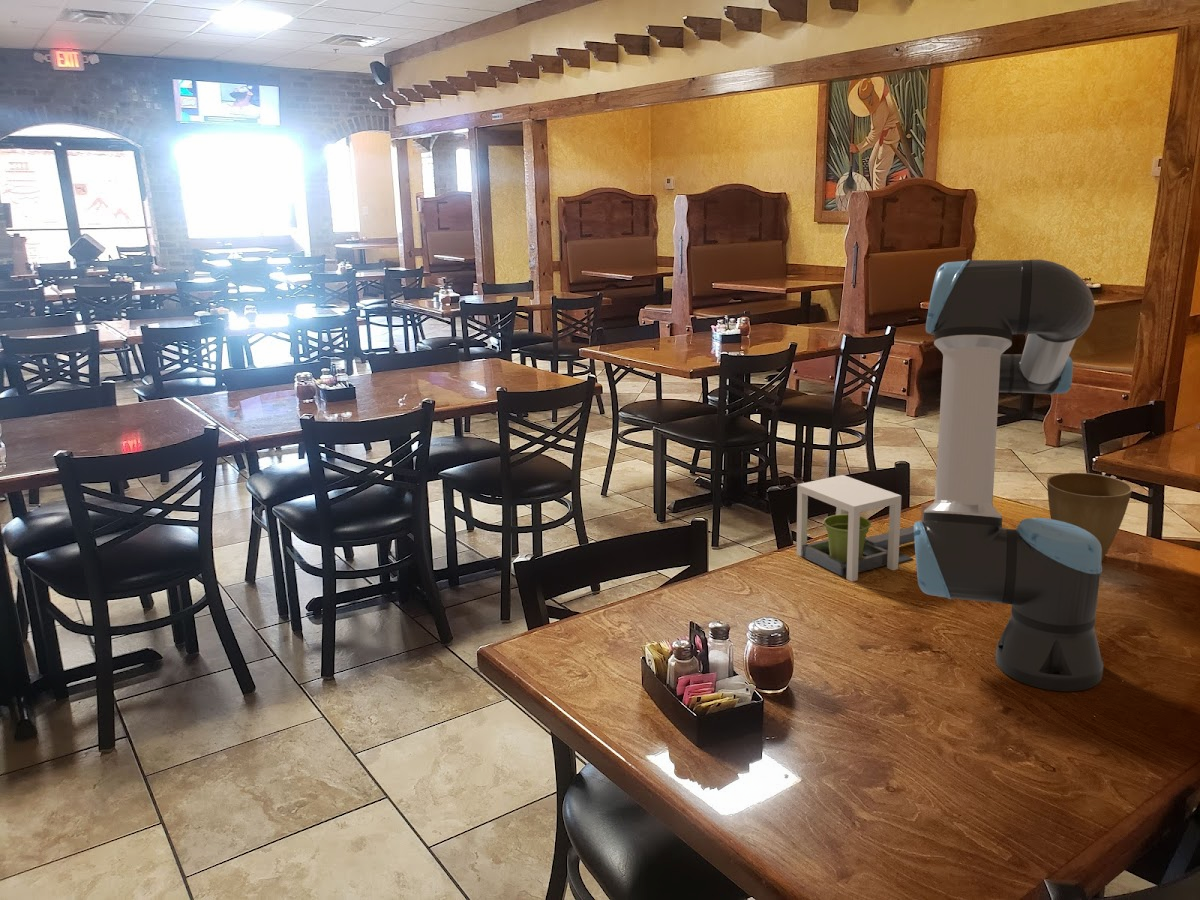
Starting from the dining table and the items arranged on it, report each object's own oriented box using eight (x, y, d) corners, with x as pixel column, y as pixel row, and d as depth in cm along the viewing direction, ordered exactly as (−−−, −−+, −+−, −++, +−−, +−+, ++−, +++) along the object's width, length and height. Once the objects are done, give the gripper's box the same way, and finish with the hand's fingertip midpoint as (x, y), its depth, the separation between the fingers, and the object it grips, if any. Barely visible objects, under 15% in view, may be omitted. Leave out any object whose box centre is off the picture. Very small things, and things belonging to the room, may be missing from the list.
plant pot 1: (875, 557, 190) (876, 518, 188) (861, 573, 182) (863, 532, 180) (831, 550, 195) (832, 511, 193) (816, 565, 187) (817, 525, 185)
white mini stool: (920, 562, 186) (924, 490, 182) (851, 581, 179) (854, 506, 175) (862, 537, 201) (864, 470, 197) (796, 554, 193) (797, 484, 189)
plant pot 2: (1024, 554, 188) (1030, 480, 184) (1074, 540, 194) (1081, 468, 190) (1088, 579, 175) (1096, 500, 171) (1140, 563, 181) (1150, 487, 177)
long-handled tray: (964, 543, 194) (966, 515, 193) (842, 576, 180) (843, 546, 179) (920, 526, 205) (922, 499, 204) (802, 556, 191) (802, 528, 190)
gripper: (973, 401, 201) (966, 503, 207) (929, 409, 195) (923, 514, 201) (1001, 407, 194) (993, 513, 200) (956, 416, 189) (950, 524, 195)
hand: (958, 513), depth 201 cm, fingers closed
